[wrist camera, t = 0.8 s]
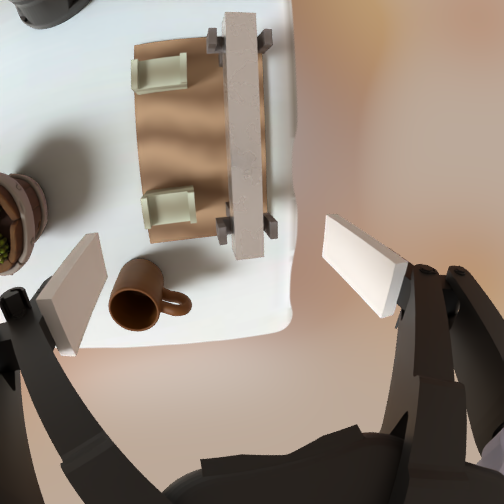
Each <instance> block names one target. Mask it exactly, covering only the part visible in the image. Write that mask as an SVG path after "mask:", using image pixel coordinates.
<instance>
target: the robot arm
mask: <svg viewBox="0 0 504 504" xmlns="http://www.w3.org/2000/svg"><path fill="white" fill-rule="evenodd" d="M9 1H11V2H12V3H14V4H15V6H16V9H17V11H18V14H19V16H20V18H21V20H22V21H23V22H24V23H25V24H26V25H28V26H30V27H32V28H34V29H47V28H50V27H53V26H56V25H58V24H61V23H62V22H64V21H66V20H68V19H69V18H71V17H72V16H74V15H75V14H76V13H78V12H79V11H80V10H81V9H82V8H83V7H85V6H86V5H87V4H88V2H89V1H90V0H9ZM322 257H323V258H324V259H325V260H326V261H327V262H328V263H329V264H330V265H331V266H332V267H333V268H334V269H335V270H336V271H337V272H338V273H339V274H340V275H341V277H343V279H344V280H345V281H346V282H347V283H348V284H349V285H350V286H351V287H352V288H353V289H354V290H355V291H356V292H357V293H358V294H359V295H360V296H361V297H362V298H363V300H364V301H366V303H367V304H368V305H369V306H370V307H371V308H372V309H373V310H374V311H375V312H376V314H377V315H378V316H379V317H380V318H384V317H387V316H391V315H393V314H394V311H395V308H396V304H398V305H399V306H400V307H401V311H400V314H399V318H398V320H397V323H396V326H395V328H396V329H397V327H398V334H397V343H396V352H395V359H394V367H393V373H392V380H391V385H390V390H389V396H388V401H387V406H386V410H385V415H384V420H383V424H382V428H381V430H380V433H374V432H369V433H361V431H360V429H359V427H358V425H354V426H351V427H348V428H345V429H342V430H340V431H336V432H333V433H331V434H327V435H324V436H322V437H320V438H318V439H317V440H315V441H313V442H312V443H309V444H308V445H306V446H304V447H302V448H300V449H298V450H296V451H294V452H292V453H290V454H288V455H243V454H242V455H236V456H227V457H219V458H211V459H200V461H201V467H202V469H199V470H196V471H193V472H191V473H189V474H186V475H184V476H182V477H181V478H179V479H177V480H176V481H175V482H173V483H172V484H170V485H169V487H167V488H166V489H165V490H164V491H163V492H162V493H161V492H160V491H159V490H158V489H157V488H156V487H155V486H154V485H153V484H151V483H150V482H149V481H148V480H147V479H146V478H145V477H144V476H143V475H142V474H141V473H140V471H139V470H137V468H136V467H135V466H134V465H133V464H132V463H131V462H130V461H129V460H128V459H127V458H126V456H125V455H124V454H123V453H122V452H121V451H120V450H119V448H118V447H117V446H116V445H115V444H114V442H112V440H111V439H110V438H109V436H108V435H107V434H106V433H105V431H104V430H103V429H102V428H101V426H100V425H99V424H98V422H97V421H96V420H95V418H94V417H93V416H92V414H91V413H90V411H89V410H88V409H87V407H86V405H85V404H84V403H83V401H82V400H81V398H80V397H79V395H78V394H77V392H76V390H75V389H74V387H73V386H72V384H71V382H70V381H69V379H68V378H67V376H66V374H65V373H64V371H63V369H62V367H61V366H60V364H59V362H58V361H57V358H56V357H55V355H54V353H53V350H54V348H55V346H56V347H57V349H58V351H59V352H60V354H61V356H76V355H77V352H78V349H79V346H80V344H81V341H82V338H83V335H84V333H85V330H86V327H87V325H88V322H89V320H90V317H91V315H92V312H93V310H94V307H95V305H96V303H97V300H98V298H99V295H100V293H101V291H102V289H103V286H104V284H105V282H106V280H107V277H108V276H107V272H106V268H105V263H104V259H103V254H102V250H101V245H100V240H99V235H98V233H91V234H86V235H85V236H84V237H83V238H82V239H81V241H80V242H79V243H78V244H77V245H76V247H75V248H74V249H73V250H72V252H71V253H70V254H69V255H68V257H67V258H66V259H65V260H64V262H63V263H62V264H61V265H60V267H59V268H58V269H57V271H56V272H55V273H54V275H53V276H51V277H49V278H48V279H47V280H45V281H44V282H43V284H42V285H41V286H40V289H38V290H37V292H36V294H35V295H34V296H33V297H32V299H31V300H30V301H29V299H28V296H27V293H26V291H25V289H24V288H23V287H15V288H12V289H9V290H8V291H6V292H5V293H3V294H2V295H1V296H0V308H1V310H2V312H3V314H4V317H5V319H6V321H7V322H5V323H1V324H0V504H45V503H44V500H43V497H42V494H41V491H40V488H39V485H38V482H37V478H36V474H35V471H34V467H33V463H32V458H31V454H30V449H29V445H28V439H27V434H26V428H25V422H24V414H23V406H22V395H21V383H20V370H21V373H22V376H23V378H24V381H25V384H26V386H27V389H28V391H29V394H30V396H31V399H32V401H33V404H34V406H35V408H36V410H37V413H38V415H39V417H40V419H41V421H42V423H43V425H44V427H45V429H46V431H47V433H48V435H49V437H50V439H51V441H52V443H53V444H54V446H55V448H56V450H57V452H58V453H59V455H60V457H61V459H62V460H63V463H61V468H62V470H63V472H64V474H65V476H66V477H67V478H68V480H69V482H70V483H71V485H72V486H73V488H74V489H75V491H76V492H77V493H78V495H79V496H80V498H81V499H82V500H83V502H84V503H85V504H504V319H503V318H502V316H501V315H500V313H499V312H498V310H497V309H496V307H495V306H494V304H493V303H492V302H491V300H490V299H489V297H488V296H487V295H486V293H485V292H484V291H483V289H482V288H481V287H480V285H479V284H478V283H477V281H476V280H475V279H474V277H473V276H472V275H471V274H470V273H469V272H468V271H467V270H466V269H464V268H463V267H460V266H450V267H449V268H448V271H447V275H439V273H438V272H437V270H436V269H434V268H432V267H430V266H428V265H422V264H417V265H415V266H414V265H412V264H411V263H410V262H408V261H407V260H405V259H404V258H403V257H401V256H400V255H398V254H397V253H395V252H394V251H393V250H391V249H390V248H388V247H386V246H385V245H383V244H382V243H380V242H379V241H377V240H376V239H375V238H373V237H372V236H370V235H369V234H367V233H366V232H364V231H363V230H361V229H359V228H358V227H356V226H355V225H353V224H352V223H350V222H349V221H347V220H345V219H344V218H343V217H341V216H339V215H338V214H331V215H326V224H325V234H324V244H323V254H322ZM458 310H459V311H458ZM454 370H455V373H456V376H457V378H458V382H455V381H454ZM466 409H467V412H468V417H469V421H470V424H471V429H472V432H473V436H474V439H475V443H476V445H477V448H478V451H479V453H480V455H481V457H482V459H481V460H480V461H479V462H478V463H477V465H475V464H471V463H468V462H465V456H466V434H467V433H466V432H467V415H466Z"/></svg>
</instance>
